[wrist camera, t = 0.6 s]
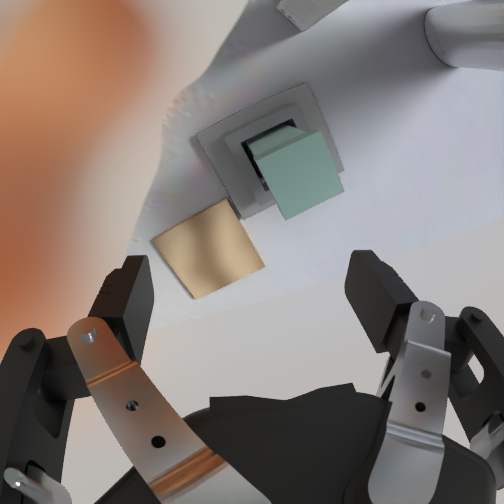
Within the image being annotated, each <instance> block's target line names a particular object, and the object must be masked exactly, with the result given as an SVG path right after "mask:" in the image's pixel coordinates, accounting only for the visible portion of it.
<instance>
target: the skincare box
mask: <svg viewBox="0 0 504 504" xmlns="http://www.w3.org/2000/svg"><path fill="white" fill-rule="evenodd" d="M347 1H349V0H281V1H280V3H279V4H278V6H277V9H278V10H279V11H280V12H281V13H283V14H284V15H285V16H286V17H287V18H288V19H289V20H290V21H291V22H293V23H294V24H295V25H296V26H297V27H298V28H299V29H300V30H301V31H305V30H307V29H308V28H310V27H311V26H313V25H314V24H316V23H317V22H318V21H320V20H321V19H322V18H324V17H325V16H327V15H328V14H330V13H331V12H332V11H334V10H335V9H337V8H338V7H339V6H341V5H342V4H344V3H345V2H347Z"/></svg>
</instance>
